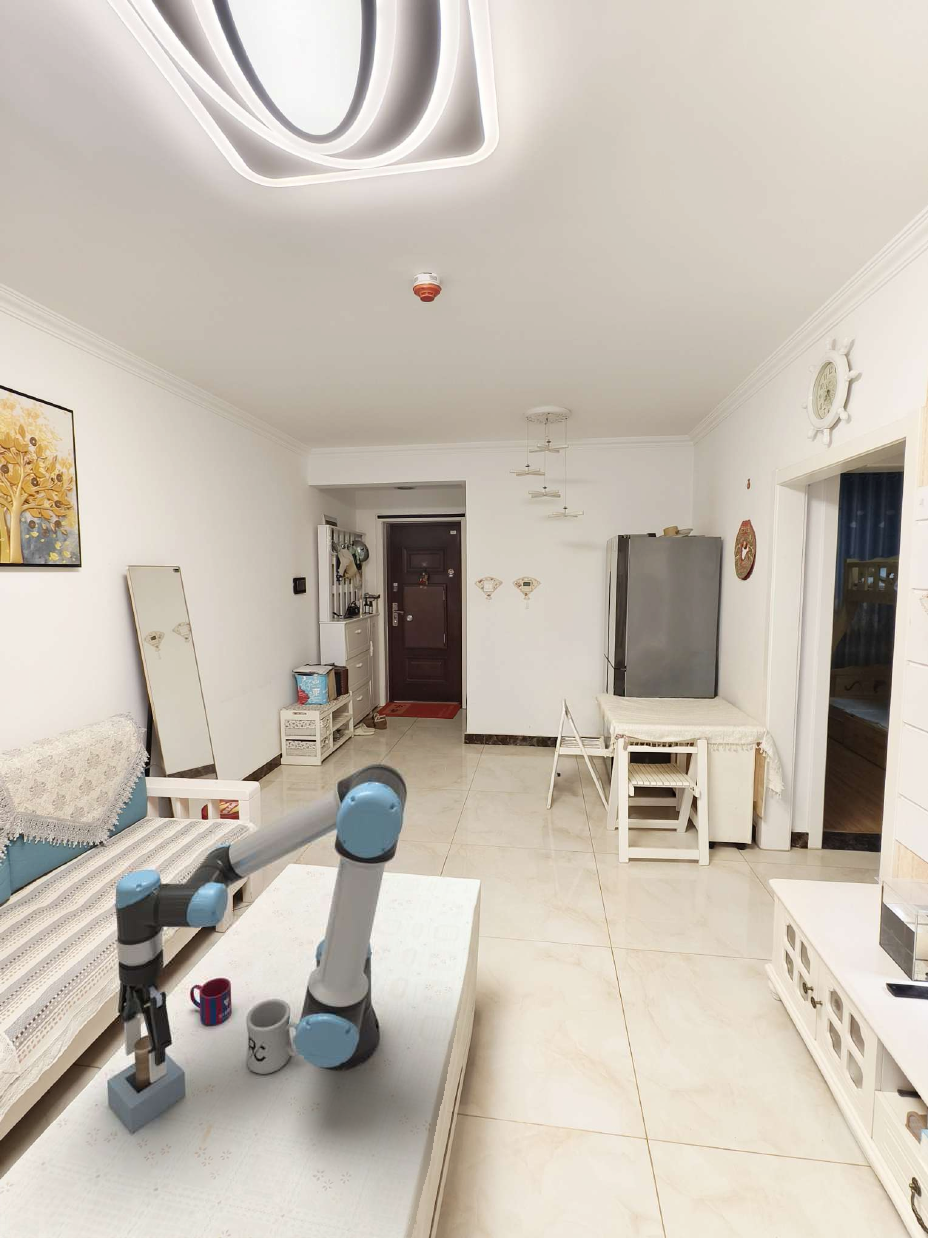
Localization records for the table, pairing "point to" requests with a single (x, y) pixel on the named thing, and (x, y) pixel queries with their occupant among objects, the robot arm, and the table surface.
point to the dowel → (142, 1063)
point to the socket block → (144, 1095)
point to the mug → (269, 1036)
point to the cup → (213, 1001)
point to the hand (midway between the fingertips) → (145, 1063)
